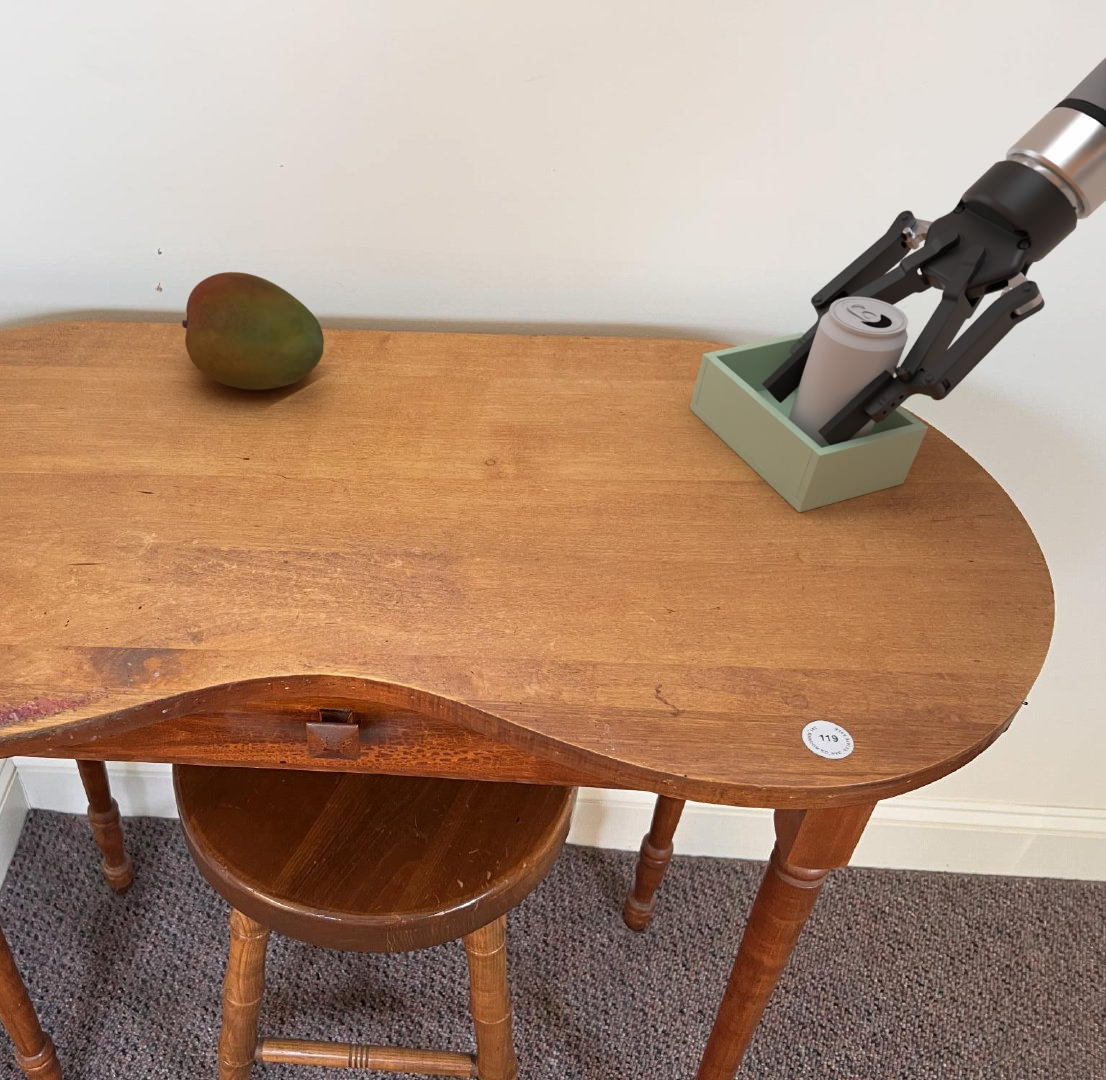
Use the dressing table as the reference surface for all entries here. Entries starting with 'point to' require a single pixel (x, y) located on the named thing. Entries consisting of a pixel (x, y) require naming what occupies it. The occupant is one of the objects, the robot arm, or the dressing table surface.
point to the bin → (796, 431)
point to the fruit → (250, 332)
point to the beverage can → (847, 360)
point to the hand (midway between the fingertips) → (798, 416)
